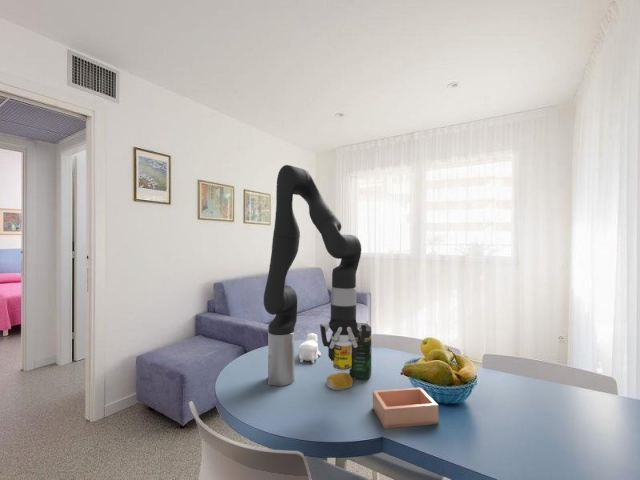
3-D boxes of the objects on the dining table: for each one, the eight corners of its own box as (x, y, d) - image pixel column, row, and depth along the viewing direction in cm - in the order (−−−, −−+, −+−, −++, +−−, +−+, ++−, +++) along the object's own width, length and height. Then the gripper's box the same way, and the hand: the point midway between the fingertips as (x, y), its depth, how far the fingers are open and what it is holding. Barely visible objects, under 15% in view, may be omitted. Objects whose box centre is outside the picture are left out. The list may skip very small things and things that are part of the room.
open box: (384, 428, 78) (384, 409, 78) (372, 407, 88) (372, 390, 88) (438, 423, 80) (438, 404, 80) (421, 404, 90) (420, 387, 90)
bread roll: (357, 387, 102) (357, 375, 102) (334, 393, 98) (334, 380, 98) (344, 377, 109) (344, 366, 109) (322, 382, 105) (322, 371, 105)
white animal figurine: (318, 369, 123) (323, 345, 137) (316, 353, 120) (321, 329, 134) (297, 368, 124) (304, 344, 138) (295, 352, 121) (303, 328, 135)
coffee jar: (370, 382, 105) (369, 329, 105) (347, 379, 107) (347, 327, 107) (373, 371, 114) (372, 322, 114) (352, 368, 116) (352, 320, 116)
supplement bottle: (330, 370, 87) (331, 335, 87) (335, 363, 92) (336, 329, 92) (349, 373, 85) (350, 337, 85) (353, 365, 90) (354, 331, 90)
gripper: (321, 305, 84) (320, 365, 84) (370, 304, 86) (369, 364, 86) (317, 300, 91) (316, 355, 91) (363, 299, 93) (362, 354, 93)
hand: (342, 359), depth 88 cm, fingers closed on supplement bottle, 5 cm apart
